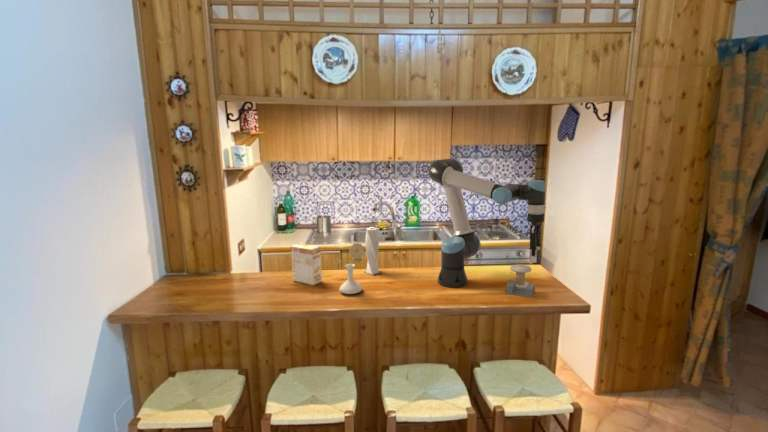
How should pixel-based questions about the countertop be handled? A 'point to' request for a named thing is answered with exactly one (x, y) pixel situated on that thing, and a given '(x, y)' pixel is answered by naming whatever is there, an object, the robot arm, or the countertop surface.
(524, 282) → the bobbin
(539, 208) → the robot arm
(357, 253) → the flower in vase
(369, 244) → the skyscraper
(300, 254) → the coffeecake box
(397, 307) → the countertop surface
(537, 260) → the tan and grey block
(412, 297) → the countertop surface
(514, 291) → the notch board
